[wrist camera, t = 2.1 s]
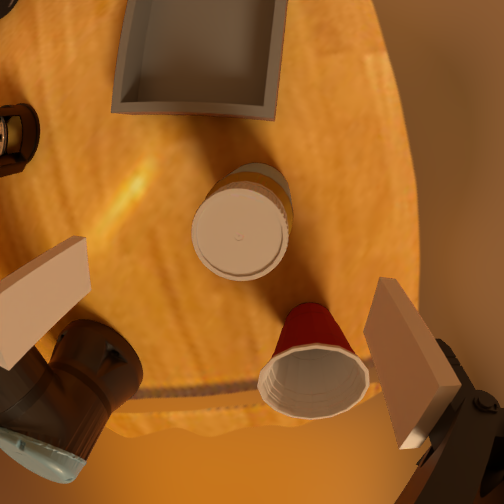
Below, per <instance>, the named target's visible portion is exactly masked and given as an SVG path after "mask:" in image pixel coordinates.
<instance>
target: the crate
mask: <svg viewBox="0 0 504 504" xmlns="http://www.w3.org/2000/svg"><path fill="white" fill-rule="evenodd" d="M287 4H288V0H128V2H127V7H126V12H125V16H124V21H123V27H122V32H121V38H120V43H119V49H118V56H117V63H116V70H115V78H114V86H113V95H112V106H111V113H119V114H130V115H143V114H165V115H201V116H219V117H233V118H246V119H256V120H266V121H275V115H276V106H277V97H278V88H279V79H280V70H281V61H282V51H283V42H284V33H285V23H286V14H287Z"/></svg>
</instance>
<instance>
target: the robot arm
mask: <svg viewBox="0 0 504 504" xmlns="http://www.w3.org/2000/svg"><path fill="white" fill-rule="evenodd" d="M90 291H91V284H90V276H89V267H88V257H87V245H86V237H79V236H72V237H70V238H69V239H67V240H65V241H63V242H62V243H60V244H58V245H56V246H55V247H53V248H51V249H50V250H48V251H46V252H45V253H43V254H41V255H40V256H38V257H36V258H35V259H33V260H32V261H30V262H28V263H27V264H25V265H24V266H22V267H21V268H19V269H17V270H16V271H14V272H13V273H11V274H10V275H8V276H7V277H5V278H4V279H2V280H1V281H0V448H1V449H2V450H3V451H4V452H5V453H7V454H8V455H9V456H10V457H11V458H13V459H14V460H15V461H17V462H18V463H19V464H21V465H22V466H24V467H25V468H27V469H29V470H30V471H32V472H34V473H36V474H38V475H40V476H42V477H44V478H46V479H48V480H51V481H54V482H58V483H70V482H72V481H74V480H75V478H76V477H77V475H78V474H79V472H80V471H81V469H82V468H83V466H84V465H86V460H87V459H88V457H89V455H90V453H91V451H92V449H93V447H94V445H95V443H96V441H97V439H98V437H99V436H100V434H101V432H102V430H103V428H104V426H105V424H106V423H107V421H108V419H109V417H110V415H111V413H112V412H113V411H115V410H116V409H117V408H118V407H120V406H121V405H122V404H124V402H126V401H127V400H128V399H130V398H132V397H133V396H134V394H135V393H136V392H137V390H138V388H139V386H140V384H141V382H142V379H143V370H142V365H141V363H140V360H139V358H138V356H137V355H136V353H135V351H134V350H133V349H132V347H131V346H130V345H129V344H128V343H127V342H126V341H125V340H124V339H123V338H122V337H121V336H120V335H119V334H118V333H116V332H115V331H113V330H112V329H110V328H109V327H107V326H105V325H103V324H101V323H98V322H95V321H91V320H76V321H73V322H72V323H70V324H69V325H68V326H67V327H66V328H65V329H64V330H63V331H62V332H61V333H60V335H59V337H58V339H57V343H56V345H55V348H54V350H53V353H52V356H51V359H50V362H49V363H48V364H47V362H46V361H45V359H44V358H43V356H42V355H41V354H40V352H39V351H38V349H37V348H36V347H35V345H34V344H35V343H36V342H37V341H38V340H39V339H40V338H41V337H42V336H43V335H44V334H45V333H46V332H47V331H48V330H49V329H51V328H52V327H53V326H54V325H55V324H56V323H57V322H58V321H59V320H60V319H61V318H62V317H63V316H64V315H65V314H66V313H67V312H68V311H69V310H70V309H71V308H73V307H74V306H75V305H76V304H77V303H78V302H79V301H80V300H81V299H82V298H83V297H84V296H85V295H87V294H88V293H89V292H90ZM363 332H364V335H365V338H366V341H367V344H368V347H369V350H370V353H371V356H372V359H373V362H374V365H375V368H376V371H377V375H378V378H379V381H380V384H381V388H382V391H383V394H384V397H385V401H386V404H387V408H388V411H389V415H390V418H391V422H392V426H393V429H394V433H395V437H396V440H397V444H398V447H399V449H408V448H419V447H420V446H421V445H422V444H423V442H424V441H425V440H426V438H427V437H428V436H429V438H430V441H431V444H432V445H431V446H430V448H429V449H428V450H427V451H426V453H425V454H424V455H423V456H422V458H421V459H420V460H419V461H418V462H417V464H416V465H418V467H417V469H416V471H415V472H414V474H413V476H412V477H411V479H410V481H409V482H408V484H407V485H406V487H405V488H404V490H403V491H402V493H401V494H400V496H399V497H398V499H397V500H396V502H395V503H394V504H504V408H500V405H499V403H498V401H497V400H496V399H495V398H494V397H493V396H492V395H490V394H489V393H487V392H485V391H482V390H475V388H474V386H473V384H472V383H471V381H470V379H469V377H468V376H467V374H466V372H465V371H464V369H463V367H462V366H460V362H459V361H458V359H457V358H455V357H456V356H455V354H454V353H453V351H452V350H451V348H450V347H449V346H448V345H447V344H446V343H445V342H443V341H442V340H441V339H435V338H434V337H433V335H432V333H431V332H430V330H429V329H428V327H427V325H426V324H425V322H424V321H423V319H422V318H421V316H420V315H419V313H418V311H417V310H416V308H415V307H414V305H413V304H412V302H411V301H410V299H409V298H408V296H407V295H406V293H405V292H404V290H403V289H402V287H401V286H400V284H399V283H398V282H397V280H396V279H392V278H384V277H380V278H379V281H378V285H377V288H376V292H375V295H374V299H373V302H372V305H371V309H370V312H369V315H368V318H367V322H366V325H365V328H364V331H363Z"/></svg>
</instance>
